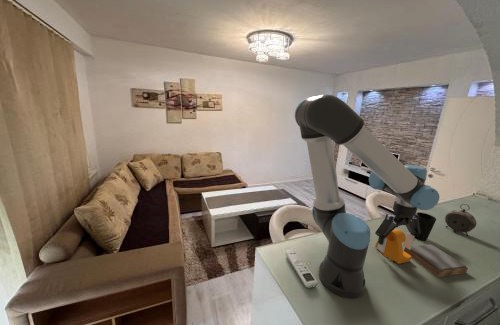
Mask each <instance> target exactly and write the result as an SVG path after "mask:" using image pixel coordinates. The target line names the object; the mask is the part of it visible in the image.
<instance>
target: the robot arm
mask: <svg viewBox="0 0 500 325" xmlns="http://www.w3.org/2000/svg"><path fill="white" fill-rule="evenodd" d="M294 119H295V122H296V124H297V126H298V127H299V130H300V136H301V139H302V140H303V141H305V143H306V145H307V152H308V157H309V158H308V159H309V164H310V168H311V175H312V181H313V187H314V192H315V199H314V200H313V206H312V209H311V215H312V218H313V221H314V222H315V224H316V225H317V226H318V228H319V229H320V230H321V232H322V233H323V235H324V236H325V238H326V239H327V241H328V245H327V253H326V255H325V257H323V258H324V259H323V261H322V262H320V264H319V268H318V277H319V280H320V281H321V283H322V285H323V286H324V287H325V288H326V289H328V290H329V291H330V292H332V293H334V294H335V295H337V296H340V297H343V298H346V299H356V298H359V297H361V296H362V295H363V294H364V292H365V288H366V278H365V273H364V264H365V261H366V256H367V253H368V251H369V250H368V249H369V245H370V242H371V228H370V226H369V224H368V223H367V222H366V221H365V219H362V218H360V216H359V217H358V216H356V215H354V214H352V213H347V212H346V211H347V210H346V202H345V199H344V198H342V197H341V196H340V190H339V184H338V177H337V176H338V175H337V171H336V170H337V168H336V161H335V155H334V153H335V152H334V146H333V142H334V143H335V144H336V145H338V146H344V147H345V148H346V149H347V150H348V151H349V152H350V153H352V155H353V156H355V157H356V158H357V159H358V160H359V161H360V162H361V163H362V164H364V165H365V166H366V167H367V168H368V169H369V170H370V171H371V172H370V173H369V176H368V182H369V183H368V184H369V185H370V187H371V188H372V189H373V190H379V191H385V192H387V193H389V194H391V195H393V196H395V197H394V200H395V201H394V202H393V206H392V210H393V213H392V214H389V213H386V215H385V218H384V219H383V221H382V222H381V224H380V225H379V226H378V228H377V229H376V231H375V232H374V233H375V235H376V236H377V237H378V240H377V242H378V247H377V248H376V249H377V250H378V251H379V252H380V251H381V252H382V253H383V252H384V249H385V245H386V241H387V238H386V237H387V236H388V235H389V234H390V233H391V232H392V231H393V230H394V229H397V228H399V227H400V226H405V227H406V229H407V231H408V232H407V233H406V235H405V237H406V239H405V241H404V242H403V243H404V244H403V247H404V248H405V247H406V248H408V249H409V250H411V247H412V246H413V243H414V241H415V236H416V237H418V236H419V235H418V234H420V233H421V230H420V224H419V215H418V214H416V213H417V211H418V210H421V211H429V210H432V209H433V208H434V207H436V205H438V203H439V201H440V193H439V191H438V190H437V189H436V188H434V187H432V186H430V185H426V181H427V175H428V170H427V168H425V167H423V166H419V165H415V164H414V165H412V164H403V163H402V162H401V161H400V160H399V159H398V158H397V157H396V156H395V155H394V154H393V153H392V152H391V151H390V150H389V149H388V148H387V147H386V146H385V145H384V144H383V143H382V142H381V141H379V139H378V138H376V137H375V135H373V133H371V131H369V129H368V128H366V127H365V123H366V121H365V120H364V119H363V118H362V117H361V116H360V115H359V114H358V113H357V112H355V111H354V109H353V108H352V107H351V106H349V105H348V104H347V103H346V102H345V101H343V100H342V99H341V98H339V97H337V96H336V95H333V94H320V95H315V96H309V97H306V98H304V99H303V100H302V101H300V102H299V104H298V105H297V106H296V109H295V112H294ZM381 252H380V253H381ZM382 253H381V254H382Z"/></svg>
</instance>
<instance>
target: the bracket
mask: <svg viewBox="0 0 500 325" xmlns="http://www.w3.org/2000/svg"><path fill="white" fill-rule="evenodd" d="M386 238H387V241H386V245H385V249H384V252H383V253H382V252H381V251H380V250H379V253H381V254H382V255H383V256H385V257H386V258H388V260H390V261H392V262H395V263H396V264H398V265H399V264H403V263H407V262H410V261H411V259H412V258H411V255H409V254H408V253H406V252H405V251H404V249H403V243H405V239H406V235H405V233H404V232H403V231H402V230H401V229H398V228H395V229H394V230H393V231H392V232H391V233H390V234H389V235H388V236H387V237H386ZM374 247H375V248H376V249H377V247H378V241H376V242H375V246H374Z"/></svg>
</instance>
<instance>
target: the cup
mask: <svg viewBox="0 0 500 325" xmlns="http://www.w3.org/2000/svg"><path fill="white" fill-rule="evenodd" d="M416 214H418V215H419V224H420V230H421V233H420V234H418V235H419V236H418V237H416V236H415V238H414V240H417V241H420V242H427V240H428V238H429V236H430V234H431V232H432V230H433V228H434V225H435V223H436V221H437V218H436V217H435V216H433V215H432V214H429V213H425V212H419V211H418V212H417V211H416Z"/></svg>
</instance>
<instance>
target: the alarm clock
mask: <svg viewBox="0 0 500 325" xmlns="http://www.w3.org/2000/svg"><path fill="white" fill-rule="evenodd" d="M464 205H465V206H467V207H468V209H465V208H462V206H464ZM459 207H460V209H453V210H451V211H450V212H448V213H447V214H446V215H445V217H444V220H445V221H444V222H445V223H446V226H445V228H450V229H451V230H453V231H452V232H453V233H454V234H455V233H456V232H458V233H464V234H466V236H467V237H469V234H468V233H469V232H471V231H472V230H474V229H475V228H476V226H477V220H476V218H475V216H474V215H473V214H471V213H470V212H468V211H469V210H470V209H471V208H470V207H471V206H469V205H468V204H466V203H462V204H460V205H459Z"/></svg>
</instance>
